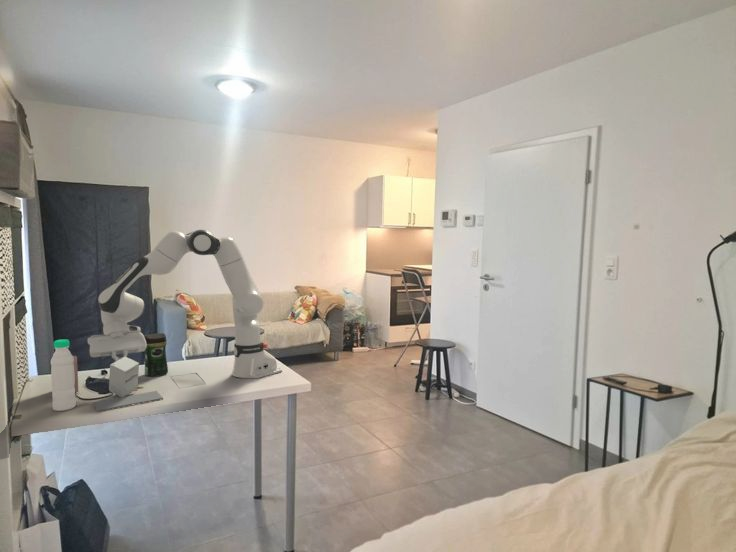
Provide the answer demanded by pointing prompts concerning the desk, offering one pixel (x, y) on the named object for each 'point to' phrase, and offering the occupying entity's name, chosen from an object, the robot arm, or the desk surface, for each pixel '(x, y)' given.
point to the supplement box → (123, 376)
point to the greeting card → (75, 373)
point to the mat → (127, 400)
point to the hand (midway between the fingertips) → (121, 362)
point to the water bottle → (63, 377)
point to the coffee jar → (155, 355)
